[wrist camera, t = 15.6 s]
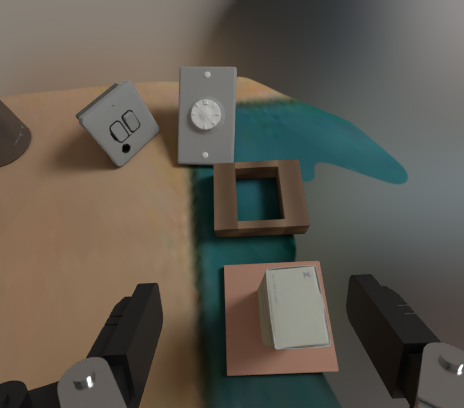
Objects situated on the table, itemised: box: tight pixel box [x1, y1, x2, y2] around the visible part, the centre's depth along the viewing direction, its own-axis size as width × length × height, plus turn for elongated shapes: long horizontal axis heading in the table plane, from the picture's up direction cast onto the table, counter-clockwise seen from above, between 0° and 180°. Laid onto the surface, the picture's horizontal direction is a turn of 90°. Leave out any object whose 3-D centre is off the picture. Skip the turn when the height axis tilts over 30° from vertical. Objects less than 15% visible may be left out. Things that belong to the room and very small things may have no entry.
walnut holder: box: [214, 159, 310, 238], centre depth 39 cm, size 12×10×3 cm
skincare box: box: [257, 265, 331, 350], centre depth 27 cm, size 6×4×12 cm
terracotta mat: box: [224, 261, 339, 376], centre depth 33 cm, size 12×12×1 cm
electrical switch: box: [76, 80, 159, 166], centre depth 42 cm, size 9×5×9 cm, turn 143°
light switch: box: [177, 67, 237, 165], centre depth 44 cm, size 8×6×14 cm
